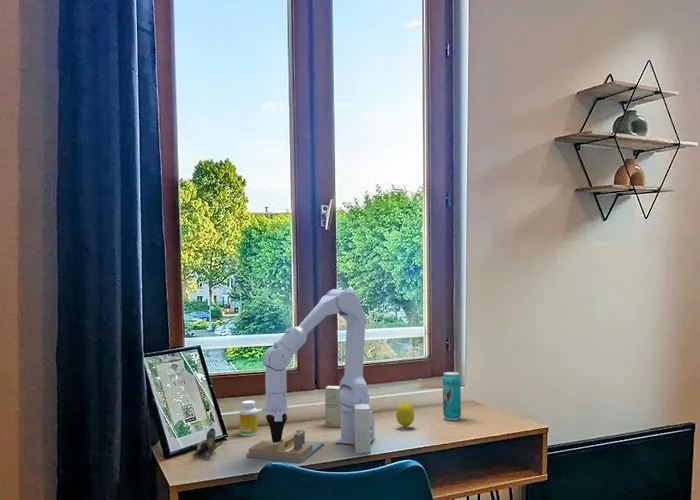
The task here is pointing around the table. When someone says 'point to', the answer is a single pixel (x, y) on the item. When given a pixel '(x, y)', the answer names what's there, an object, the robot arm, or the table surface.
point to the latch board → (292, 454)
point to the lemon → (405, 414)
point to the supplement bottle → (248, 419)
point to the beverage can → (451, 396)
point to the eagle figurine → (209, 443)
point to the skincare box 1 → (332, 407)
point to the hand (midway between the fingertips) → (276, 441)
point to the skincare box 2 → (362, 428)
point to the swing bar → (290, 440)
